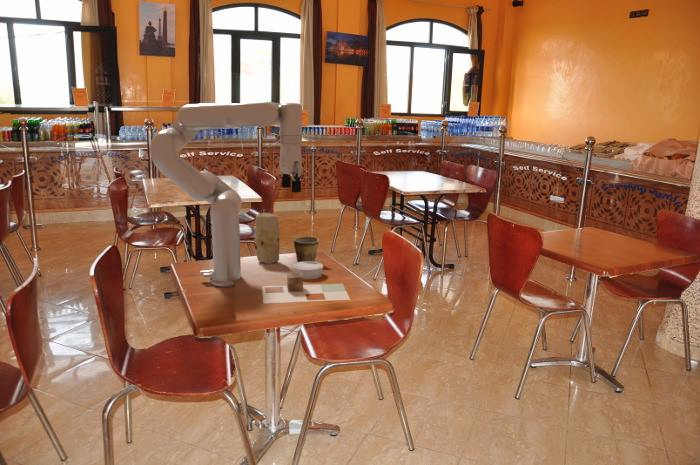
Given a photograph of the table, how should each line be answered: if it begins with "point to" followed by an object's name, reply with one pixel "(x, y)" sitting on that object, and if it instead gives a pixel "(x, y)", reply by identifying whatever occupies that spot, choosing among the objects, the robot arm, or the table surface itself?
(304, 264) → the ramekin
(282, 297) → the trap deck
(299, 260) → the ceramic cup
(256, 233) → the food model
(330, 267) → the table surface
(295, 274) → the walnut block
